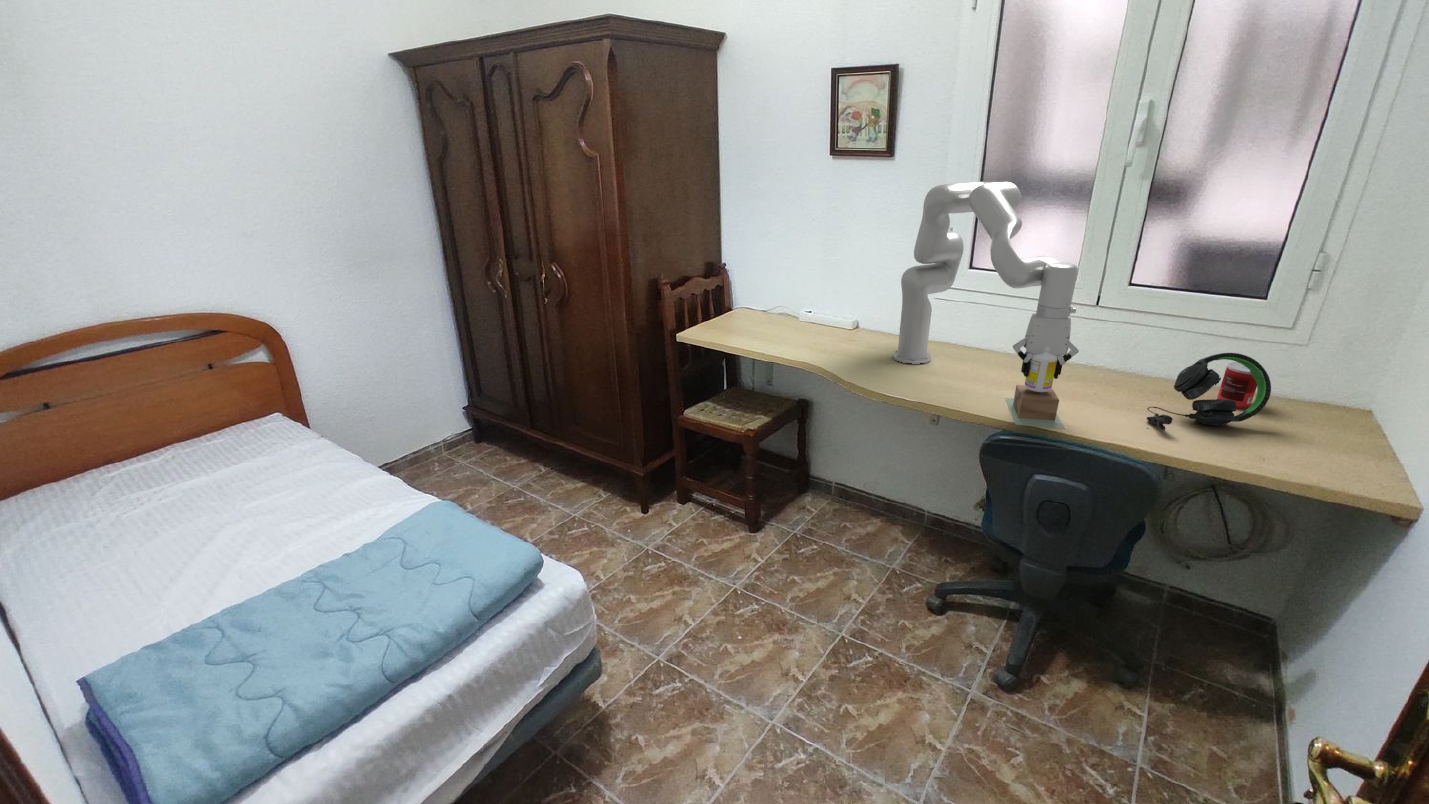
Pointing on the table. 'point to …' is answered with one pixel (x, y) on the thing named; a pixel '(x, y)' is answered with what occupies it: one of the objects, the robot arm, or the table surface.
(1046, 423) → the felt pad
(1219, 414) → the headset
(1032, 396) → the walnut block
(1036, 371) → the supplement bottle
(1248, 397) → the canned food
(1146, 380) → the table surface
